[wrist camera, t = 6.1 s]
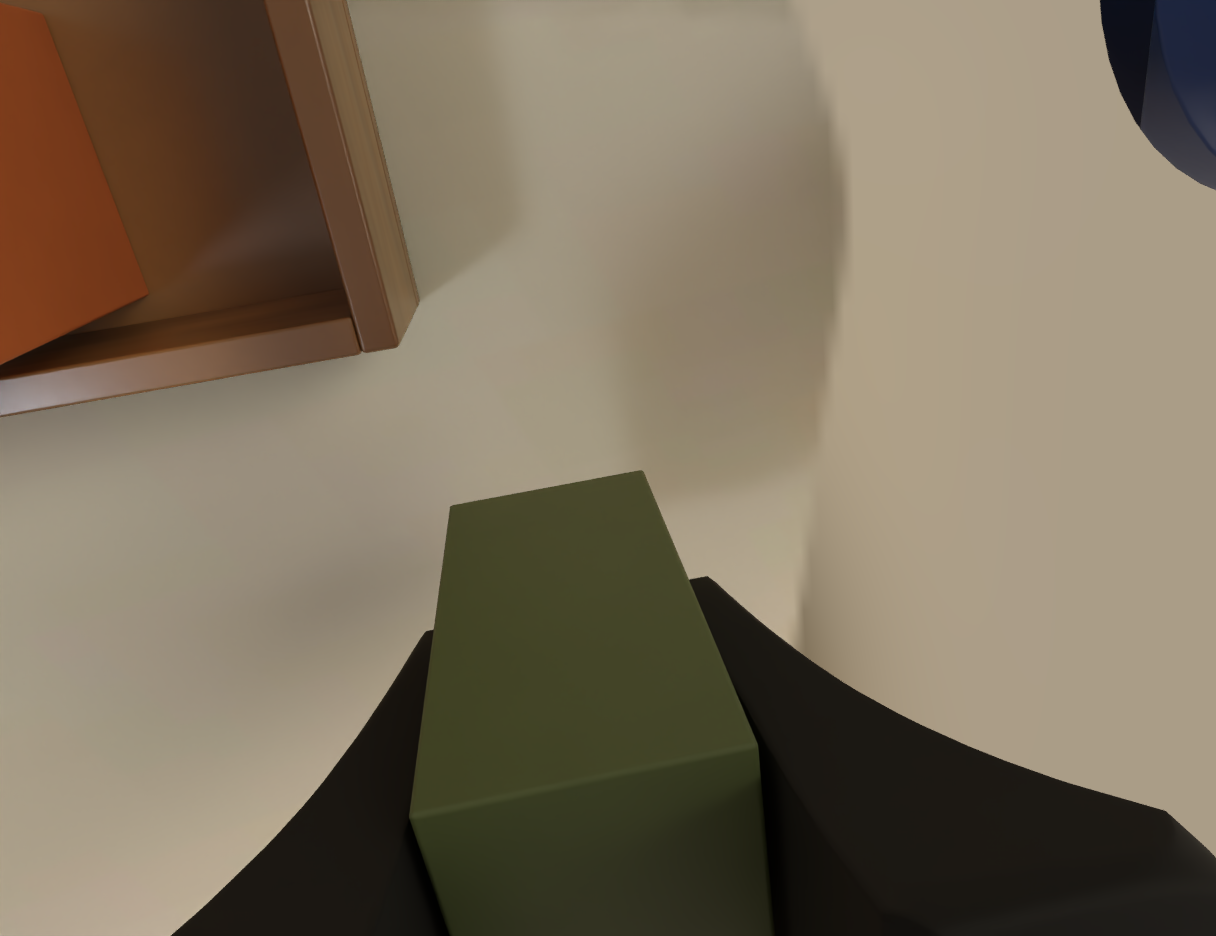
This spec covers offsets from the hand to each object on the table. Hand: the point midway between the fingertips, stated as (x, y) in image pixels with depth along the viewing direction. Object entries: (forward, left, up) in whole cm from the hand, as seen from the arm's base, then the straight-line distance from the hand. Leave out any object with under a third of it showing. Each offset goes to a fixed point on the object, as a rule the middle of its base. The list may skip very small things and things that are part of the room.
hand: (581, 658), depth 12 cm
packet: (0, 0, -1) cm, 1 cm away
